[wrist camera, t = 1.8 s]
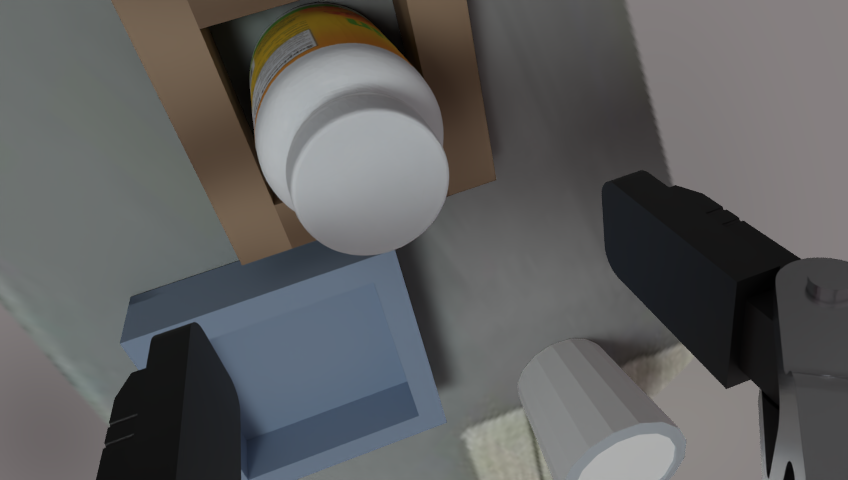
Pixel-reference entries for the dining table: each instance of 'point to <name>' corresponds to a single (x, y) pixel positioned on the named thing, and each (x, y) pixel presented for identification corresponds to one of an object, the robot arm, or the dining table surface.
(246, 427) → the tray
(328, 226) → the supplement bottle
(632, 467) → the shot glass
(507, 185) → the dining table surface
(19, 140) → the dining table surface
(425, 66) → the collar
